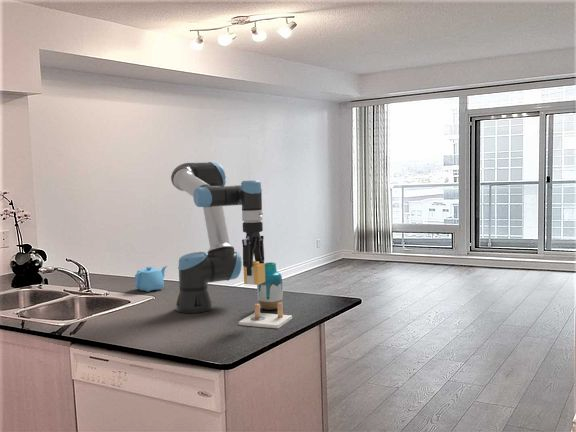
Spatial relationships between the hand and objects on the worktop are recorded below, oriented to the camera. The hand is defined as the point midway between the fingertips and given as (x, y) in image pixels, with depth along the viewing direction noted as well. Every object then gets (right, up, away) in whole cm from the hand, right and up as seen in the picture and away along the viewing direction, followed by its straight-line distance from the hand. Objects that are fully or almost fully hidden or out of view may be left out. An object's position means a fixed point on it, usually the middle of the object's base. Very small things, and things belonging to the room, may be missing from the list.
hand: (254, 282), depth 212 cm
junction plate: (+4, -15, +2) cm, 16 cm away
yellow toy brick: (0, 0, 0) cm, 0 cm away
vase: (+5, -14, +20) cm, 25 cm away
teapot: (-54, -11, +65) cm, 85 cm away
